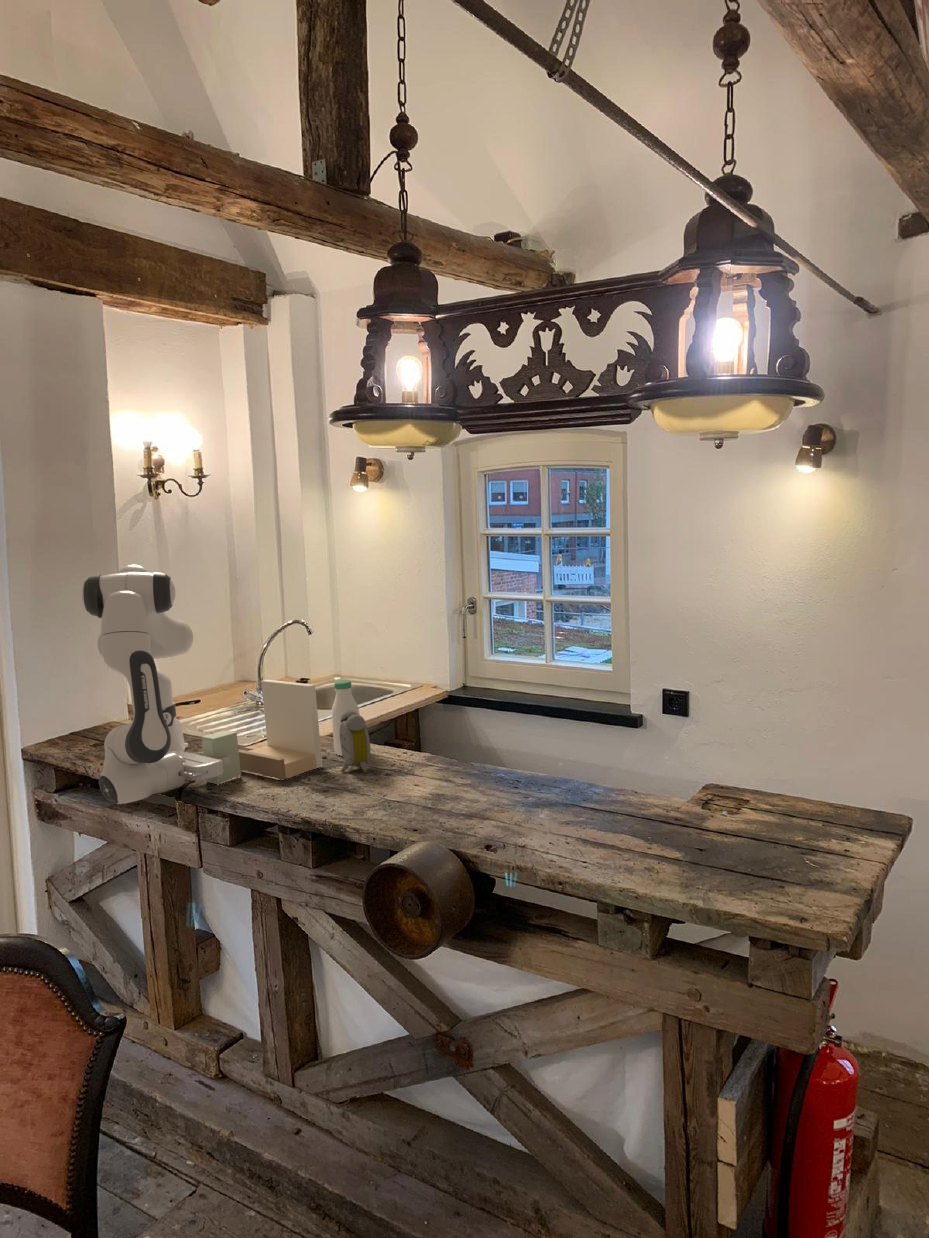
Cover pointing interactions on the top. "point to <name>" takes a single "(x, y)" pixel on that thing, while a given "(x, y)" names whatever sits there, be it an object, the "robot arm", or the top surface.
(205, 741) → the cabinet
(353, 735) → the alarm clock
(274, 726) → the wall board
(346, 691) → the milk bottle
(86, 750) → the top surface
